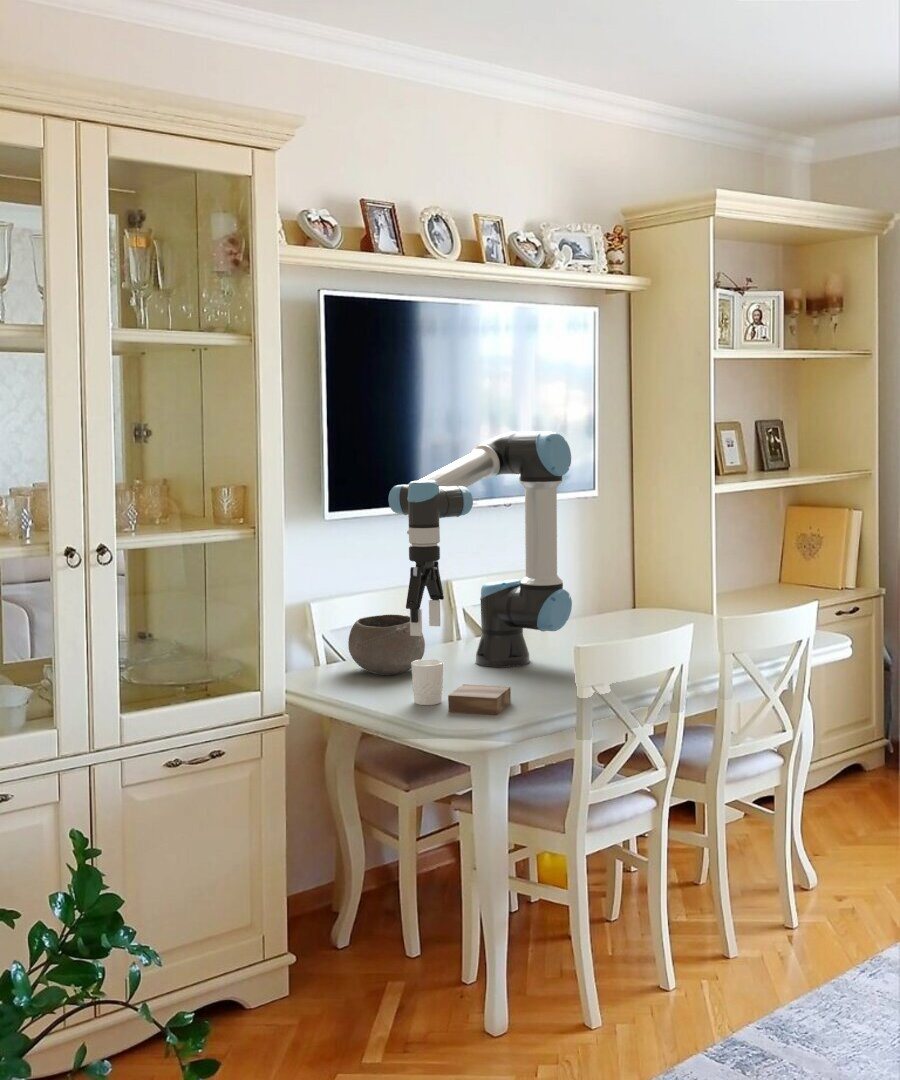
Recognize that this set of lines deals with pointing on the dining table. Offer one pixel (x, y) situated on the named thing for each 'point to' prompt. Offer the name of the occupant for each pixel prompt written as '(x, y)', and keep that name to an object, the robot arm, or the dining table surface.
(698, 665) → the dining table surface
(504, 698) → the walnut plinth
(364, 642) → the clay pot
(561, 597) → the robot arm
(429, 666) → the white cup
